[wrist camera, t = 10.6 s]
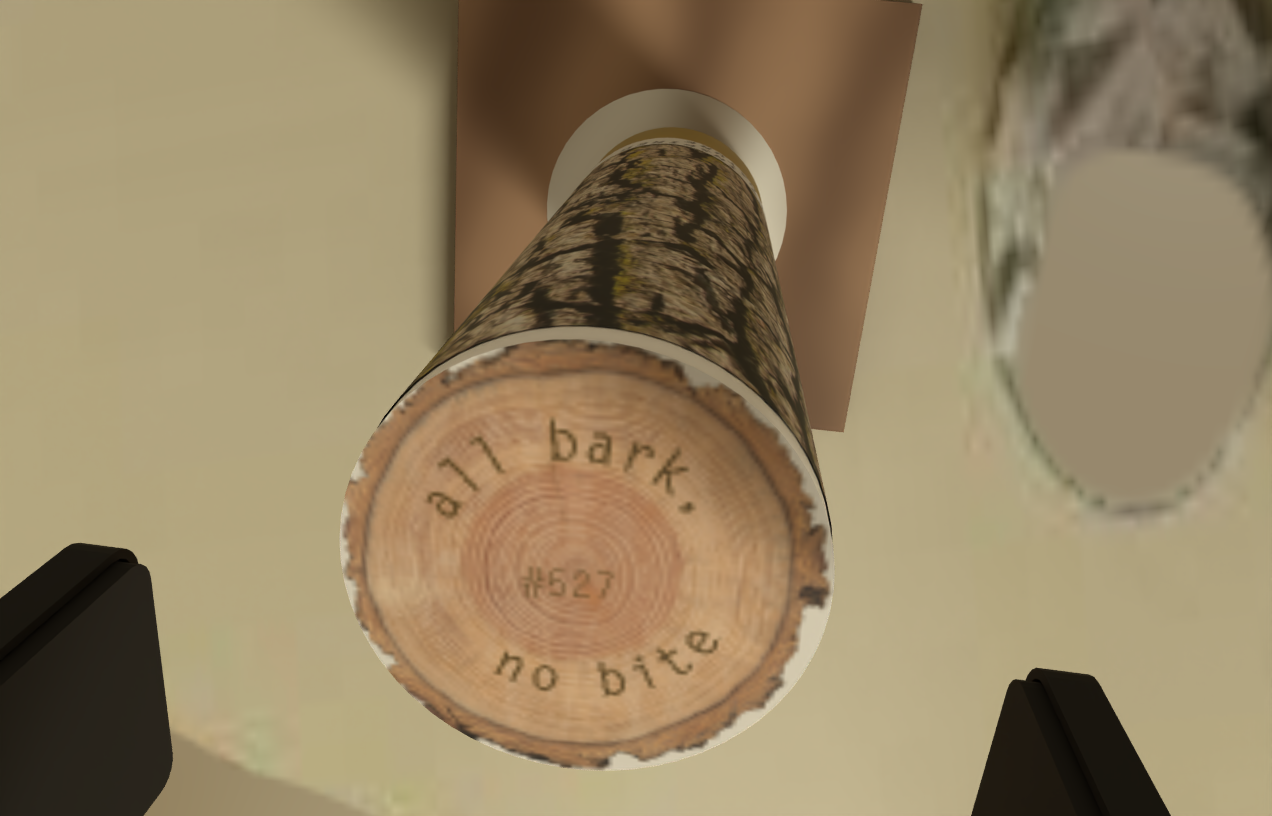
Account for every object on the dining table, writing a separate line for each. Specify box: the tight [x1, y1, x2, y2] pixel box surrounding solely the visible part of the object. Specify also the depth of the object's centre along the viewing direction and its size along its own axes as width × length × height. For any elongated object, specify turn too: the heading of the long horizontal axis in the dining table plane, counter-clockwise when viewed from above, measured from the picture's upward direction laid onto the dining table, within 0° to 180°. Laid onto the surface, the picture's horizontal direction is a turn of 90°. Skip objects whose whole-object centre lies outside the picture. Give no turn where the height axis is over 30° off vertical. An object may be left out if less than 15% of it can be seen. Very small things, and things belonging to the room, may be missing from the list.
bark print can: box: [340, 127, 835, 771], centre depth 25 cm, size 7×7×25 cm
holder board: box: [454, 0, 922, 432], centre depth 37 cm, size 16×16×2 cm
